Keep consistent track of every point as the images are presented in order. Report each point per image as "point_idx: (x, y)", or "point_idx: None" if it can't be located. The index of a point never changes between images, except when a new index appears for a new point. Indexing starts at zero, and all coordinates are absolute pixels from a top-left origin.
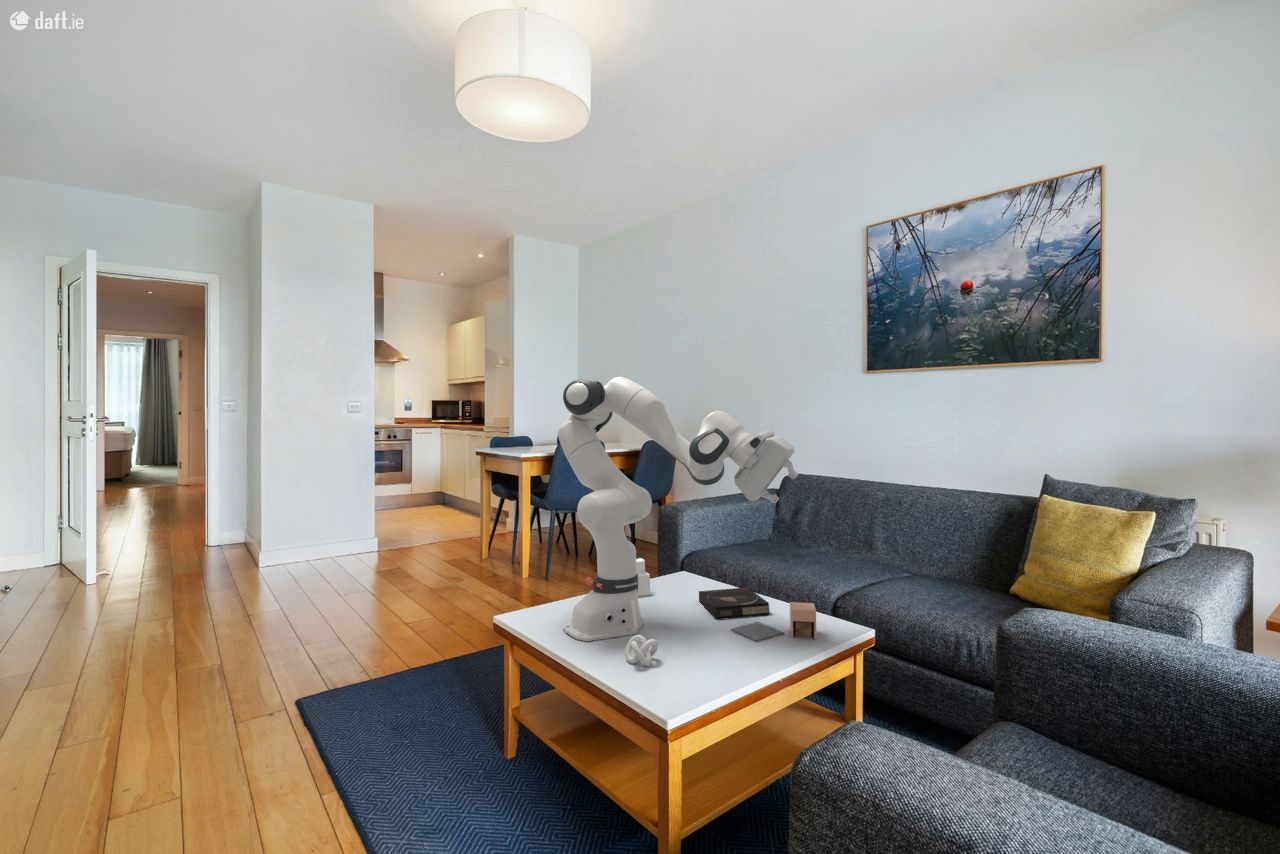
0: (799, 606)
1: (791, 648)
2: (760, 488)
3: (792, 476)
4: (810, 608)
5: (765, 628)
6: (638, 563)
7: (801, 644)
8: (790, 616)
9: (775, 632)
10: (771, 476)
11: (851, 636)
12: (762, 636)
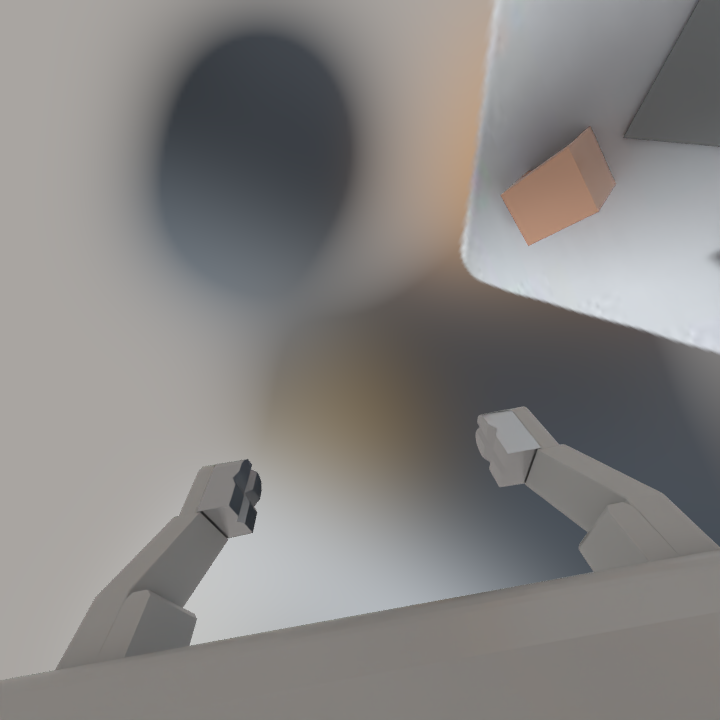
0: (553, 195)
1: (562, 47)
2: (662, 601)
3: (217, 471)
4: (519, 201)
5: (711, 111)
6: None
7: (546, 106)
8: (589, 165)
9: (654, 109)
10: (340, 626)
11: (474, 237)
12: (703, 19)
